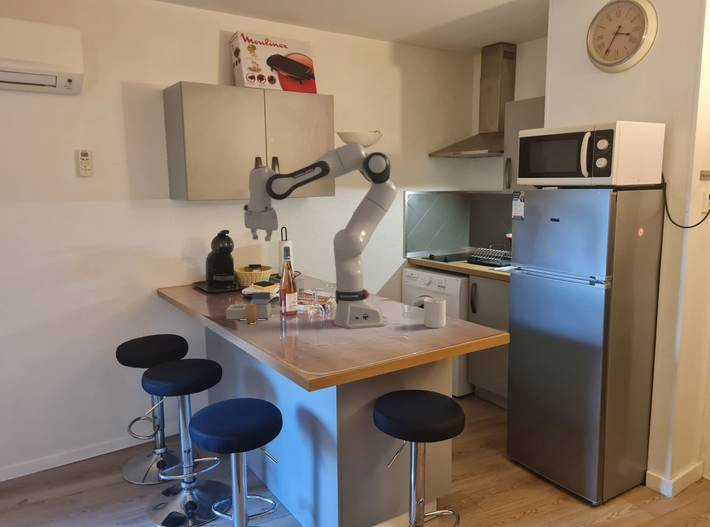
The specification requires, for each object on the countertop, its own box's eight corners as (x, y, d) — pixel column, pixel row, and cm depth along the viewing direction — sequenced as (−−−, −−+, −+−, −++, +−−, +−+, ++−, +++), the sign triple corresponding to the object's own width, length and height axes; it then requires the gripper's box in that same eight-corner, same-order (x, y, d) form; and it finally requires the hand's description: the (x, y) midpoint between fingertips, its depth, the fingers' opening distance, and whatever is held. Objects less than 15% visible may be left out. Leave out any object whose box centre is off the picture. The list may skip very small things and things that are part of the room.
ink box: (281, 304, 265) (280, 281, 263) (290, 301, 273) (288, 278, 271) (297, 305, 262) (296, 281, 260) (305, 302, 270) (304, 278, 268)
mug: (453, 323, 222) (453, 297, 220) (438, 329, 212) (438, 303, 211) (435, 320, 227) (435, 295, 225) (419, 326, 218) (419, 300, 216)
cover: (270, 300, 251) (269, 291, 250) (267, 304, 241) (266, 296, 241) (253, 300, 251) (252, 292, 250) (249, 305, 241) (248, 296, 241)
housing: (271, 314, 246) (270, 300, 245) (267, 320, 235) (267, 305, 234) (231, 315, 246) (230, 301, 245) (226, 321, 235) (225, 306, 234)
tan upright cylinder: (257, 321, 233) (256, 303, 231) (256, 324, 229) (255, 305, 227) (248, 322, 233) (247, 303, 231) (246, 324, 229) (245, 305, 227)
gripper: (281, 207, 216) (282, 241, 218) (254, 205, 231) (255, 238, 233) (267, 207, 212) (268, 242, 214) (241, 206, 227) (242, 239, 229)
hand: (261, 240), depth 223 cm, fingers open, 8 cm apart
